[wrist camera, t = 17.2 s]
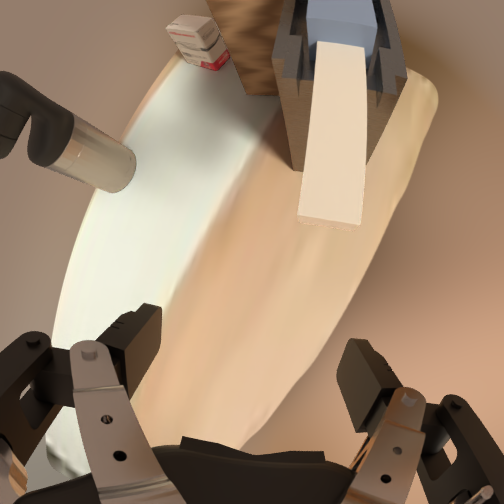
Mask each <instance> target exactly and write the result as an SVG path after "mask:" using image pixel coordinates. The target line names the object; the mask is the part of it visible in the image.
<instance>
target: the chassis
mask: <svg viewBox="0 0 504 504" xmlns="http://www.w3.org/2000/svg"><path fill="white" fill-rule="evenodd" d="M372 3H373V7H374V12H375V17H376V22H377V33H376V38H375V43H374V48H373V52H372V57H371V61H370V66H369V69H368V68H366V86H367V146H366V165H367V163H368V161H369V159H370V157H371V155H372V153H373V151H374V149H375V147H376V145H377V143H378V141H379V139H380V137H381V135H382V133H383V131H384V129H385V127H386V125H387V123H388V120H389V118H390V116H391V114H392V112H393V110H394V108H395V106H396V103H397V101H398V99H399V97H400V95H401V92H402V90H403V88H404V86H405V83H406V81H407V79H408V78H407V72H406V66H405V60H404V56H403V51H402V46H401V41H400V37H399V33H398V29H397V25H396V21H395V17H394V14H393V10H392V7H391V4H390V1H389V0H372ZM307 7H308V0H284V5H283V9H282V13H281V18H280V22H279V26H278V31H277V35H276V40H275V44H274V49H273V53H272V58H271V59H272V63H273V68H274V72H275V77H276V81H277V86H278V91H279V95H280V100H281V105H282V110H283V115H284V120H285V126H286V131H287V136H288V142H289V147H290V153H291V159H292V165H293V171H300V172H304V164H305V156H306V149H307V141H308V132H309V124H310V115H311V105H312V96H313V86H314V75H315V64H316V61H313V60H309V46H308V32H307V20H306V16H307Z"/></svg>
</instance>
